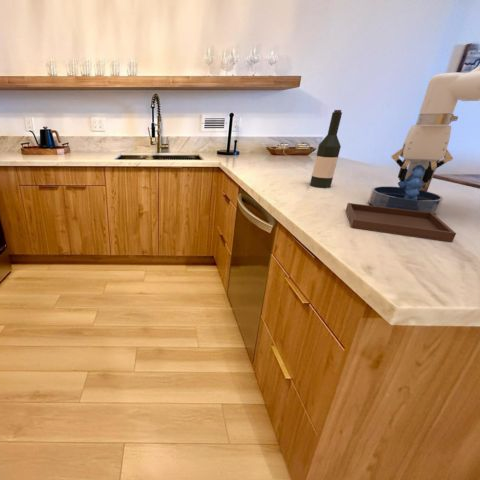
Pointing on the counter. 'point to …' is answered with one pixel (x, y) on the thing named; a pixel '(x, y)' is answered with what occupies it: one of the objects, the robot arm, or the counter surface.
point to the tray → (399, 222)
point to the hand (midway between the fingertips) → (412, 180)
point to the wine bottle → (327, 155)
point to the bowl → (395, 199)
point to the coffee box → (425, 165)
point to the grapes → (413, 183)
